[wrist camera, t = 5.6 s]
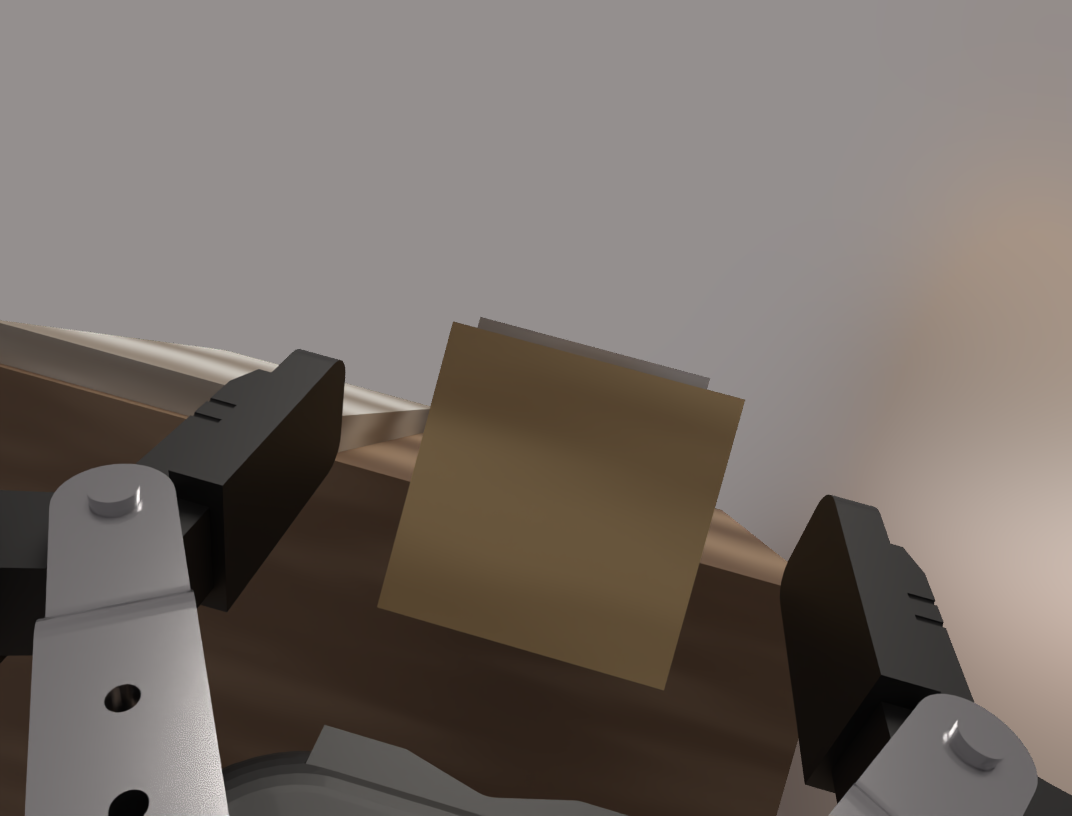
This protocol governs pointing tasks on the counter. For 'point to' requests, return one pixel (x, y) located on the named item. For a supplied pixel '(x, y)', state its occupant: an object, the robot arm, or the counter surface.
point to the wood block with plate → (561, 500)
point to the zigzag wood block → (401, 641)
